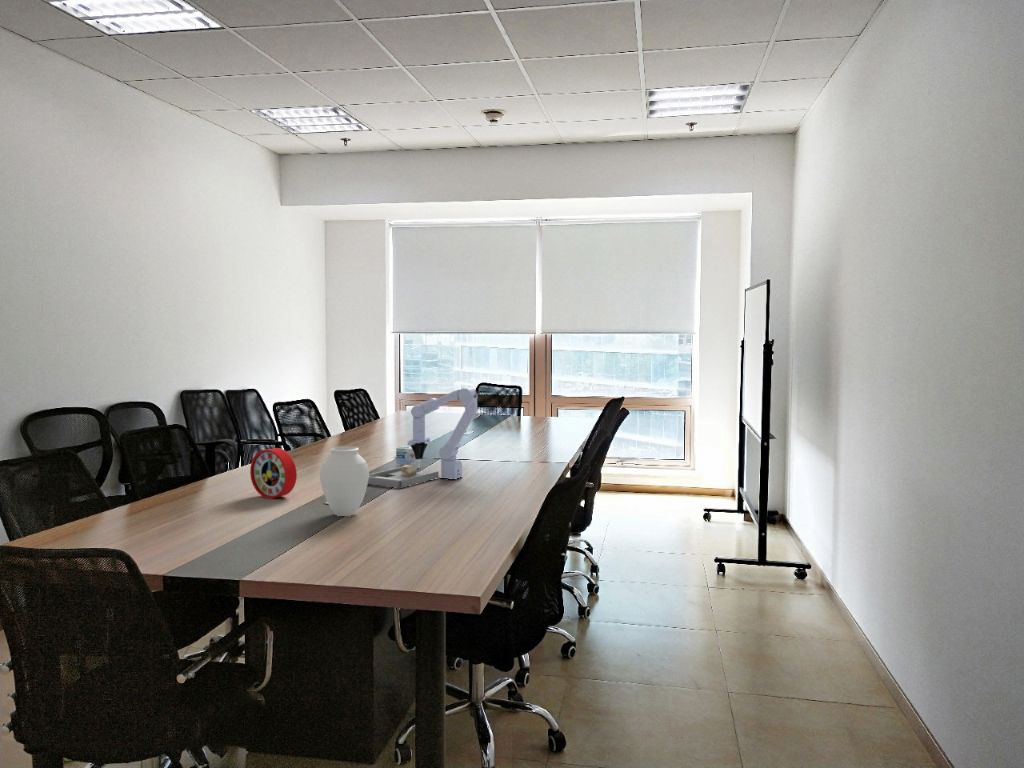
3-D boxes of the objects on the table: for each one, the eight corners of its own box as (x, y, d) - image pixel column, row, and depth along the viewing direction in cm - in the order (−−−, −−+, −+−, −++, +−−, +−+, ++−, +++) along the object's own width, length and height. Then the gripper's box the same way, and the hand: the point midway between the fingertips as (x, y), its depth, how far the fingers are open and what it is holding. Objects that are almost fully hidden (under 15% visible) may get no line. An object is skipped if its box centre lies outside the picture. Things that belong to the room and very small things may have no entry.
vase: (321, 521, 276) (320, 452, 275) (319, 510, 293) (319, 445, 292) (371, 518, 281) (370, 450, 279) (367, 507, 298) (366, 443, 296)
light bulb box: (395, 469, 384) (395, 447, 383) (401, 466, 390) (401, 445, 390) (415, 470, 381) (415, 448, 380) (420, 468, 387) (420, 446, 387)
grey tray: (438, 478, 359) (438, 471, 359) (400, 488, 335) (400, 480, 335) (401, 474, 370) (401, 466, 370) (361, 483, 346) (361, 475, 346)
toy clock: (250, 496, 319) (249, 448, 318) (261, 493, 324) (260, 446, 323) (286, 501, 310) (286, 451, 308) (297, 498, 315) (296, 449, 313)
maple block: (416, 474, 358) (416, 465, 358) (409, 476, 354) (409, 467, 354) (408, 473, 361) (408, 465, 361) (401, 475, 357) (401, 466, 356)
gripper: (421, 428, 371) (421, 456, 372) (402, 431, 359) (402, 460, 359) (433, 429, 367) (433, 457, 368) (414, 432, 355) (414, 461, 356)
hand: (419, 458), depth 364 cm, fingers closed
